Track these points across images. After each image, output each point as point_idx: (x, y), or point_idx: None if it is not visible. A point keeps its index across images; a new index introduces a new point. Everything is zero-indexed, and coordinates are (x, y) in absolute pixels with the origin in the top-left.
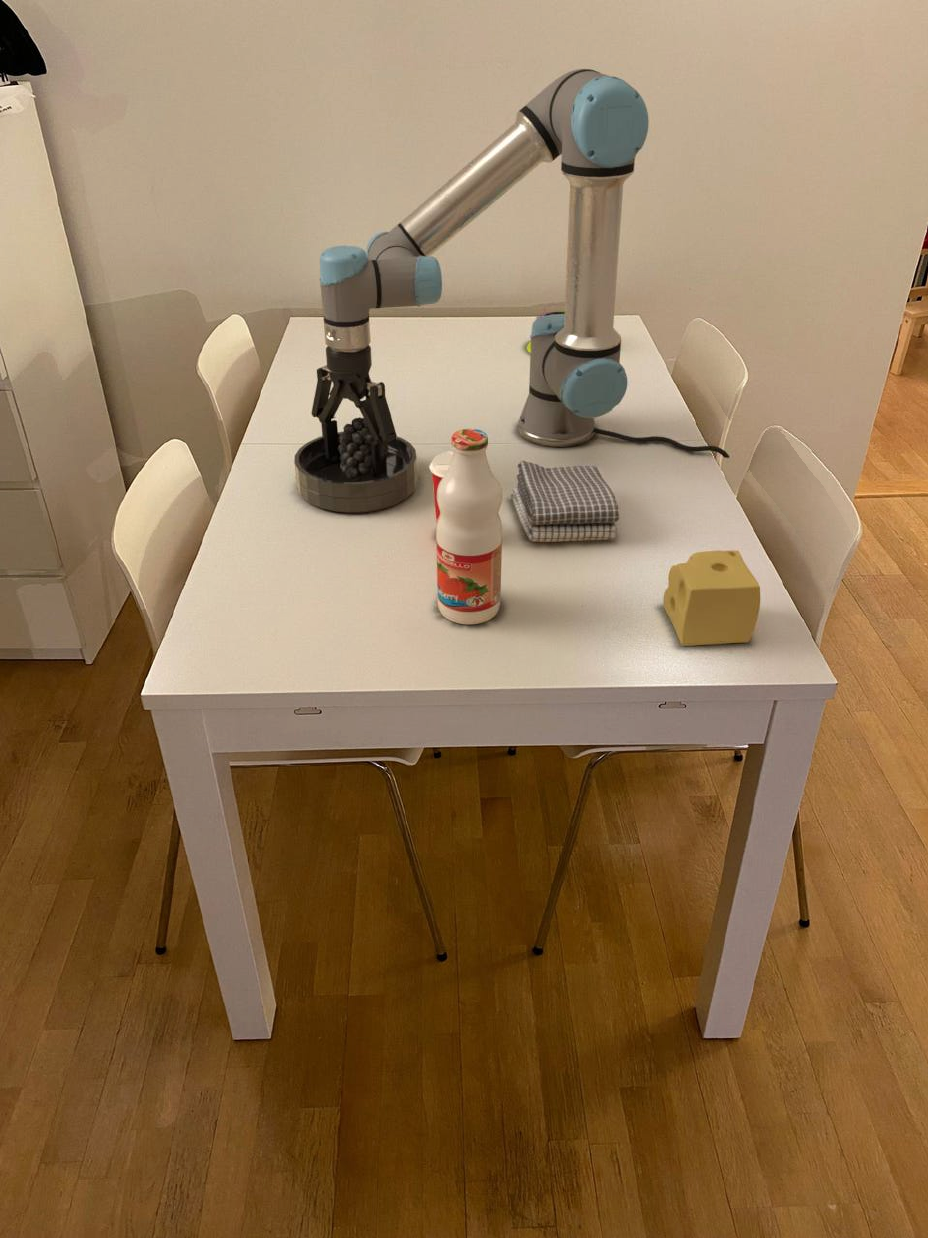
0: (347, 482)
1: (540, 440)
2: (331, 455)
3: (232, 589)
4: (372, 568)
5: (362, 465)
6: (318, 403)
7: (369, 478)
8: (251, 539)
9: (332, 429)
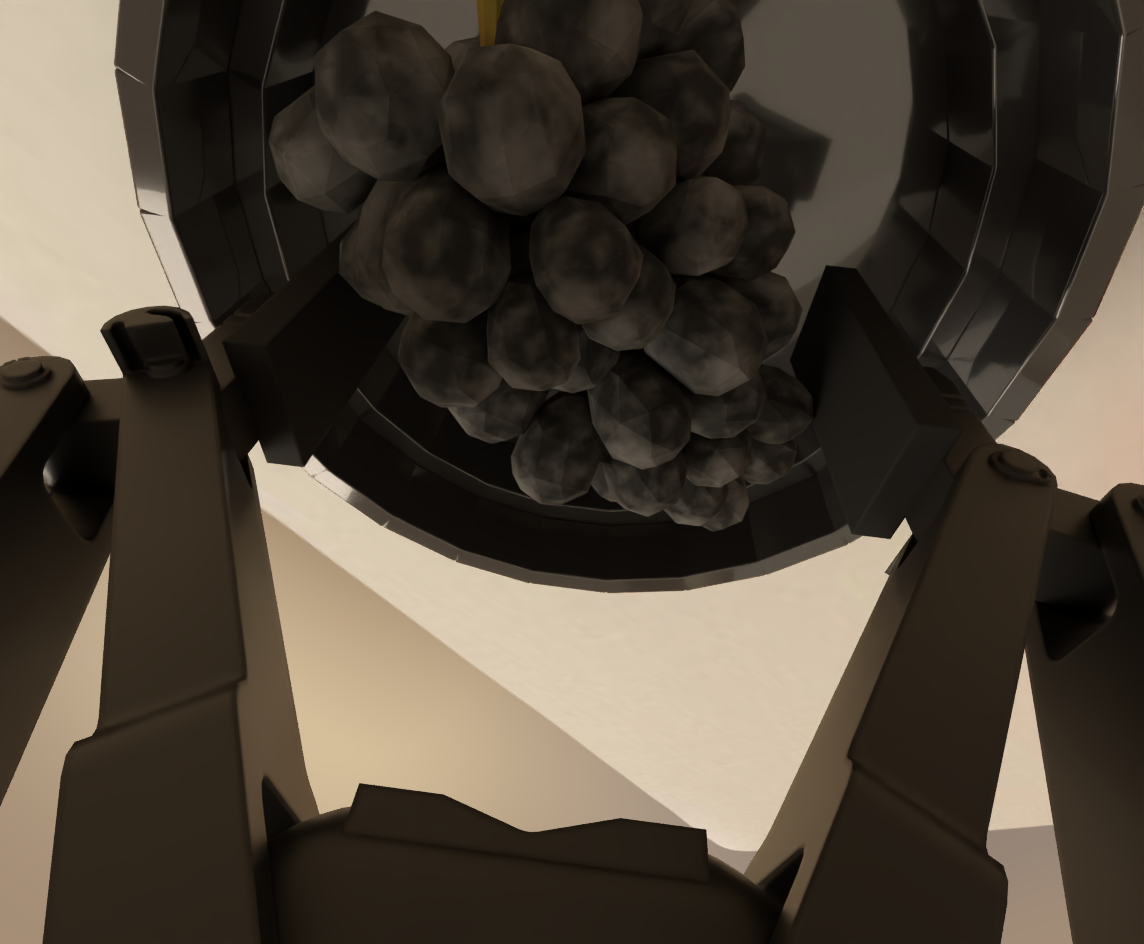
0: (749, 566)
1: None
2: None
3: (663, 743)
4: None
5: (769, 478)
6: (84, 611)
7: None
8: (550, 643)
9: (316, 374)
